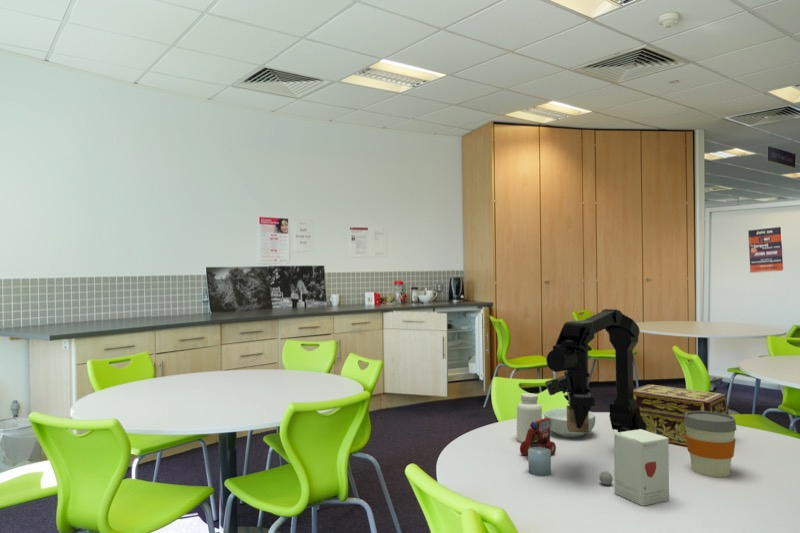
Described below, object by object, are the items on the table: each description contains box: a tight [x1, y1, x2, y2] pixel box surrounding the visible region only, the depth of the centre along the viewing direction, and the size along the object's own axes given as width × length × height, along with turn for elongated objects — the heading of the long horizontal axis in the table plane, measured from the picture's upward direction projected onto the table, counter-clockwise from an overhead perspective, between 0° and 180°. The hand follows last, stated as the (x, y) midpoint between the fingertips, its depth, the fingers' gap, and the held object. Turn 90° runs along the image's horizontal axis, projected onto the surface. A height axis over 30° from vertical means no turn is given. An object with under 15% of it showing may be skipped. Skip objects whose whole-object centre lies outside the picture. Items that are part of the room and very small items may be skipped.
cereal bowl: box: [543, 407, 596, 438], centre depth 190 cm, size 17×17×7 cm
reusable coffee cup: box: [684, 411, 737, 478], centre depth 153 cm, size 12×13×15 cm
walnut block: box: [566, 405, 590, 434], centre depth 154 cm, size 5×5×6 cm
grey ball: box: [599, 470, 614, 486], centre depth 144 cm, size 3×3×3 cm
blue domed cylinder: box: [527, 447, 552, 477], centre depth 154 cm, size 6×6×6 cm
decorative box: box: [633, 384, 730, 448], centre depth 186 cm, size 28×19×15 cm
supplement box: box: [613, 429, 670, 507], centre depth 136 cm, size 9×9×15 cm
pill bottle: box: [516, 392, 543, 443], centre depth 183 cm, size 8×8×15 cm
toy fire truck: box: [519, 417, 557, 457], centre depth 169 cm, size 7×12×10 cm, turn 133°
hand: (577, 425), depth 154 cm, fingers closed on walnut block, 5 cm apart
